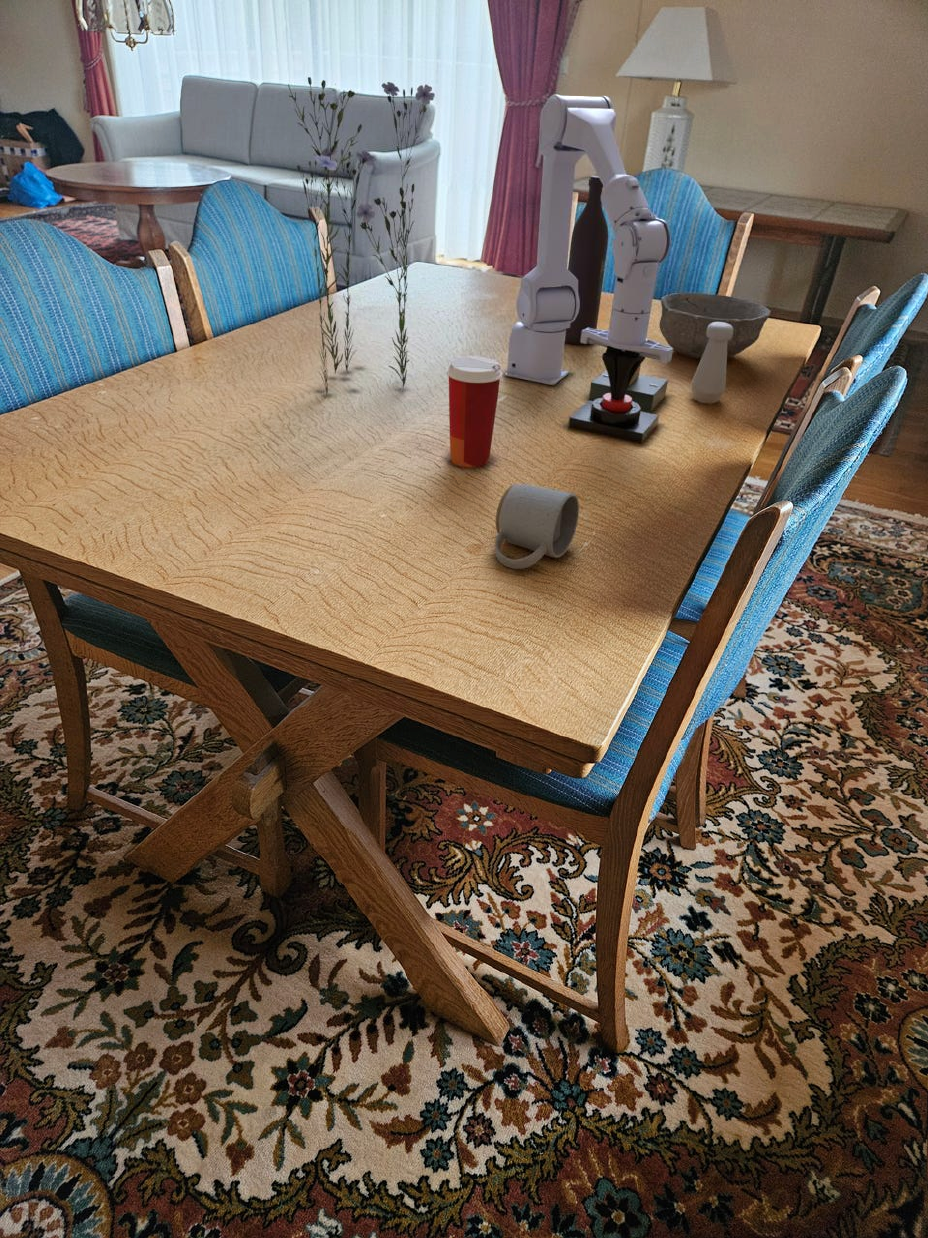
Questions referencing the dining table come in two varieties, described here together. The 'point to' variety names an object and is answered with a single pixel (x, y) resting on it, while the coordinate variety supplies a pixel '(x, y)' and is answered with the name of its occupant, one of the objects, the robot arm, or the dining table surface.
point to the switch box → (614, 421)
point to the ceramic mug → (535, 522)
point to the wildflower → (360, 213)
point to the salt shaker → (712, 365)
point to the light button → (616, 403)
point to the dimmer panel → (633, 390)
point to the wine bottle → (588, 261)
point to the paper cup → (472, 408)
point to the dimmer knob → (635, 376)
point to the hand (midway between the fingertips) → (617, 397)
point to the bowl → (709, 321)
